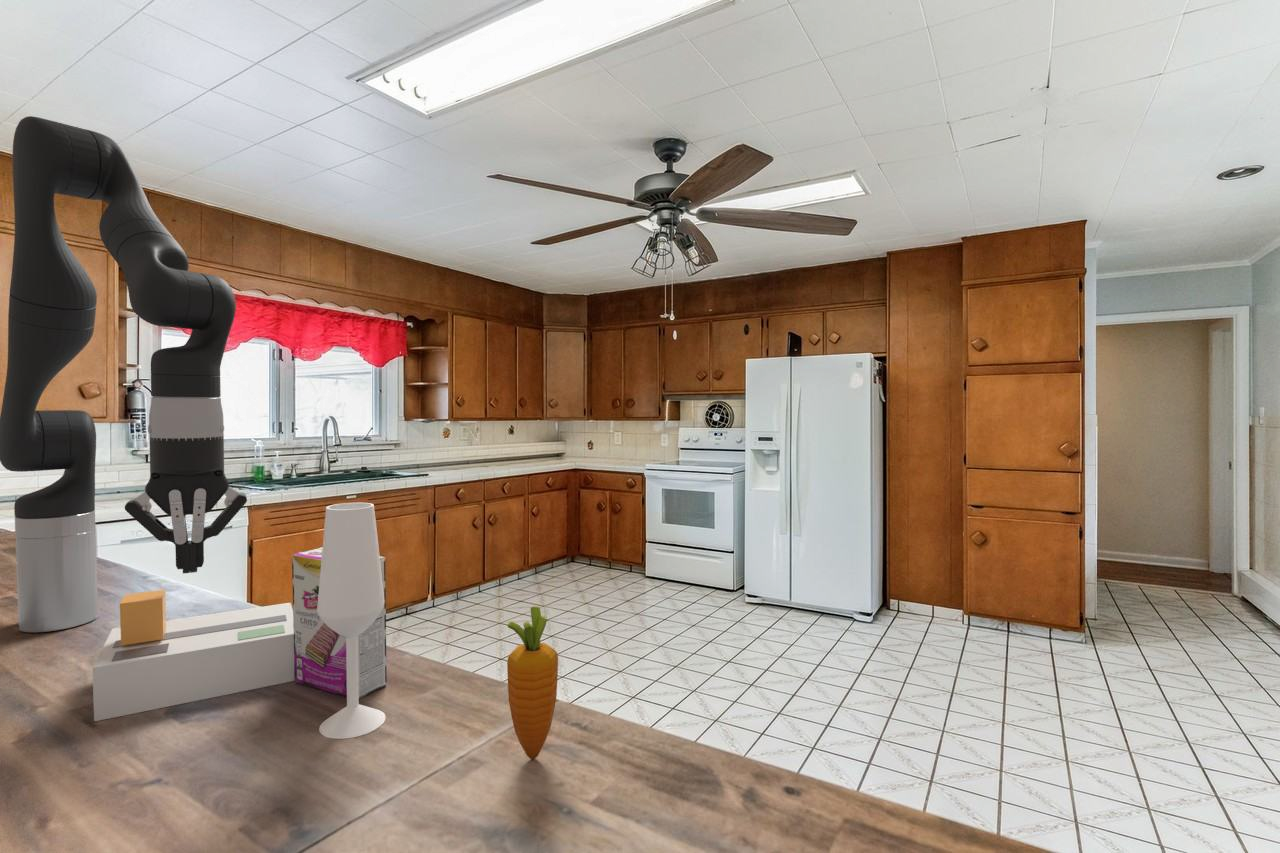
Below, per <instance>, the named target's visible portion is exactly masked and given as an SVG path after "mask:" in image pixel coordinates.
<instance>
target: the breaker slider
mask: <svg viewBox="0 0 1280 853" xmlns="http://www.w3.org/2000/svg"><path fill="white" fill-rule="evenodd" d="M166 606H167V603H166V589H159V590H151V591H145V592H144V591H143V592H136V593H135V592H134V593H127V594H124V595H123V597H122V599H121V601H120V603H119V618H120V620H119V622H120V628H121V646H122V645H129V644H135V643H141V642H148V641H154V640H160V639H164V635H165V631H166V621H167V612H166V611H167V609H166V608H167V607H166Z"/></svg>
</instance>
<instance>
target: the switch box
mask: <svg viewBox="0 0 1280 853" xmlns="http://www.w3.org/2000/svg"><path fill="white" fill-rule="evenodd" d="M293 625H294V623H293V605H292V602H286V603H278V604H272V605H271V604H270V605H265V606H257V607H250V608H245V609H237V610H231V611H223V612H217V613H208V614H202V615H198V616H197V615H196V616H189V617H182V618H175V619H168V620H167V619H166V631H165V635H164V639H160V640H154V641H148V642H141V643H135V644H129V645H122V646H121V628H120V627H113V628H112V629H111V631H110V632H109V635H108V637H107V639H106V641H105V642H104V645H103V646H102V648H101V650H100V652H99V653H98V654H99V655H98V656H97V658H96V660H95V662H94V664H93V666H92V691H93V692H92V694H93V722H98V721H104V720H108V719H109V720H110V719H113V718H119V717H123V716H129V715H133V714H138V713H143V712H147V711H152V710H157V709H162V708H168V707H172V706H177V705H183V704H187V703H192V702H197V701H198V702H199V701H202V700H207V699H210V698H211V699H212V698H217V697H221V696H222V697H223V696H226V695H227V696H228V695H231V694H235V693H236V694H237V693H241V692H245V691H251V690H256V689H261V688H266V687H271V686H275V685H276V686H277V685H280V684H285V683H291V682H295V681H294V680H295V678H294V629H293Z"/></svg>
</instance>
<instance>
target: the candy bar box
mask: <svg viewBox="0 0 1280 853" xmlns="http://www.w3.org/2000/svg"><path fill="white" fill-rule="evenodd" d="M322 548H323V546H321V547H317V548H313V549H309V550H305V551H299V552H297V553H294V554H291V568H292V570H291V574H292V575H291V578H292V579H291V581H292V609H293V623H294V625H293V629H294V678H295V680H294V681H293V682H295V683H297V684H301V685H305V686H309V687H311V688H315V689H319V690H322V691H326V692H329V693H332V694H336V695H339V696H343V697H346V698H347V668H346V637H344V636H341V635H339V634H338V633H336V632H335V631H334V630H332V629H331V628H329V627H328V626H327V625H326V624H325V623H324V622H323V621H322V620H321V618H320V617H319V615H318V611H317V605H318V594H319V583H320V571H321V560H322ZM380 564H381V573H382V582H383V591H384V600H385V603H384V607H383V609H382V611H381V613H380V614H379V616H378V617H377V619H376V620H375V621H374V622H373V623H372V624H371V625H370V626H369V627H368V628H367V629H366V630H365V631H364V632H363V633H361V634H360V635H358V694H359V700H360V699H363V698H364V697H366V696H368V695H370V694H372V693H374V692H375V691H378V690H379V689H381V688H383V687H385V686H386V685H387V683H388V681H387V678H388V677H387V676H388V675H387V613H386V612H387V605H386V604H387V601H386V600H387V598H386V597H387V595H386V592H387V591H386V590H387V588H386V587H387V586H386V583H387V582H386V557H385V556H381V555H380Z"/></svg>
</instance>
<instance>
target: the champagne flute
mask: <svg viewBox="0 0 1280 853" xmlns="http://www.w3.org/2000/svg"><path fill="white" fill-rule="evenodd" d="M377 531H378V530H377V520H376V513H375V505H374V503H370V502H346V503H345V502H344V503H336V504H331V505H328V506H326V507H325V517H324V527H323V538H322V547H323V548H322V560H321V571H320V583H319V594H318V605H317V611H318V615H319V617H320V618H321V620H322V621H323V622H324V623H325V624H326V625H327V626H328V627H329V628H331V629H332V630H334V631H335V632H336V633H338V634H339V635H341V636H344V637H346V668H347V697H346V706H345V707H343V708H341V709H340V710H338V711H337V712H336V713H335V712H334V714H332V715H331V716H329V717H327V718H326V719H325V720H324V721H323V722H322V723H321V724H320V725H319V728H318V730H319V733H320V734H321V735H322V736H323V737H325V738H329V739H338V740H341V739H342V740H343V739H352V738H356V737H357V738H358V737H360V736H364V735H367V734H369V733H371V732H373V731H375V730H377V729H378V728H380V727H381V726H382V725H383V724H384V722H385V721H386V714H385V713H384V712H383V711H381V710H379V709H377V708H373V707H370V706H366V705H363V704H361V703H360V702H359V700H360V699H359V694H358V635H360V634H361V633H363V632H364V631H365V630H366V629H367V628H368V627H369V626H370V625H371V624H372V623H373V622H374V621H375V620H376V619H377V617H378V616H379V614H380V613H381V611H382V609H383V607H384V603H385V600H384V591H383V582H382V573H381V564H380V556H381V555H380V548H379V539H378V532H377Z"/></svg>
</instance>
